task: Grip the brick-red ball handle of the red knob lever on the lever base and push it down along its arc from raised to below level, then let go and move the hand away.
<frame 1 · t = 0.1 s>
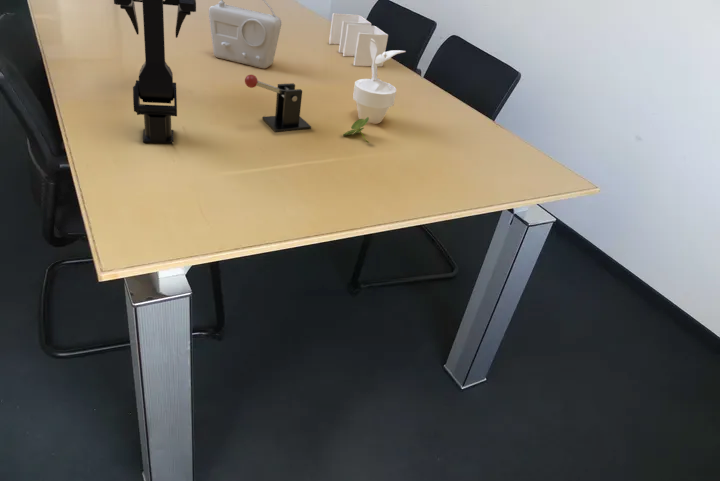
hand: (157, 35, 142), 15 cm above the table, tool pointing down, fingers open, 9 cm apart
seedling: (356, 140, 145), on the table
red knob lever: (270, 87, 137), point 10 cm above the table, hinge at 20.0°
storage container: (354, 55, 208), on the table
potted plant: (371, 120, 158), on the table
lever base: (286, 125, 145), on the table
radio: (242, 62, 181), on the table
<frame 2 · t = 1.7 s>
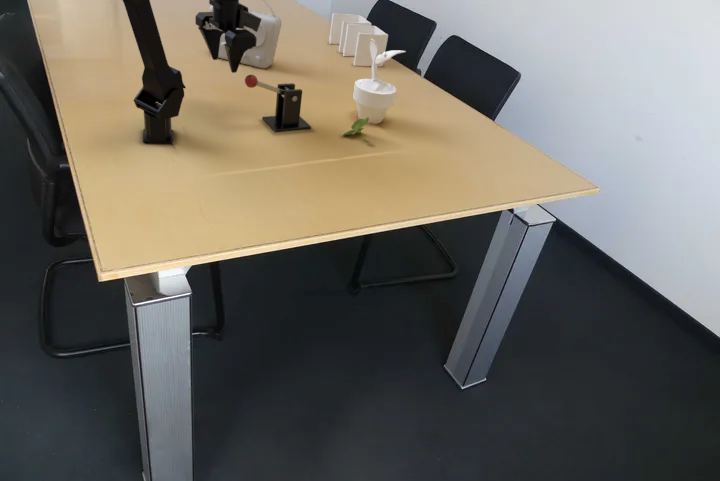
hand: (224, 65, 135), 13 cm above the table, tool pointing down, fingers open, 9 cm apart
nothing on the table moved.
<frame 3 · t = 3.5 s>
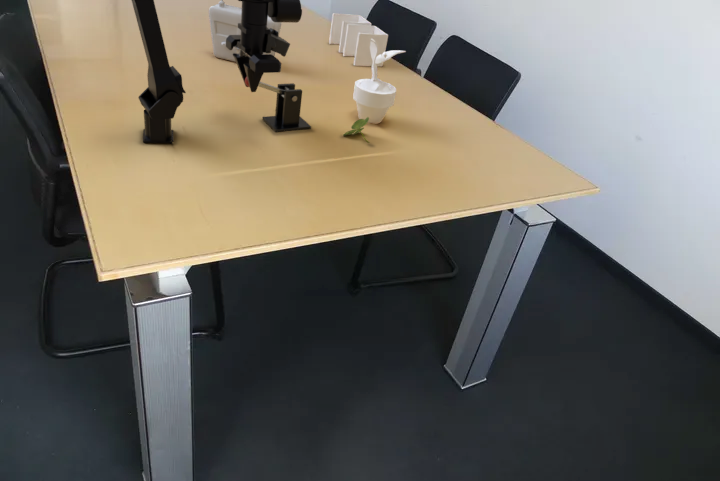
hand: (250, 89, 134), 10 cm above the table, tool pointing down, fingers closed on red knob lever, 3 cm apart
red knob lever: (270, 87, 137), point 10 cm above the table, hinge at 20.0°, touching gripper
everything else where it was.
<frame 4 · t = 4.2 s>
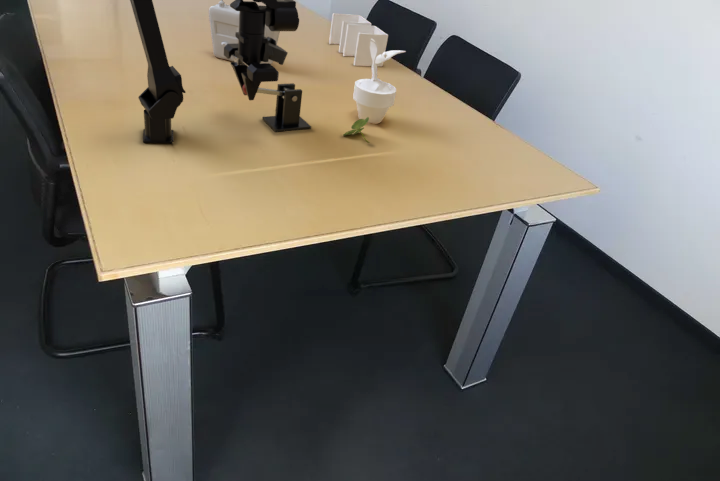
hand: (248, 97, 135), 8 cm above the table, tool pointing down, fingers closed on red knob lever, 3 cm apart
red knob lever: (269, 91, 137), point 9 cm above the table, hinge at 9.9°, touching gripper
everything else where it was.
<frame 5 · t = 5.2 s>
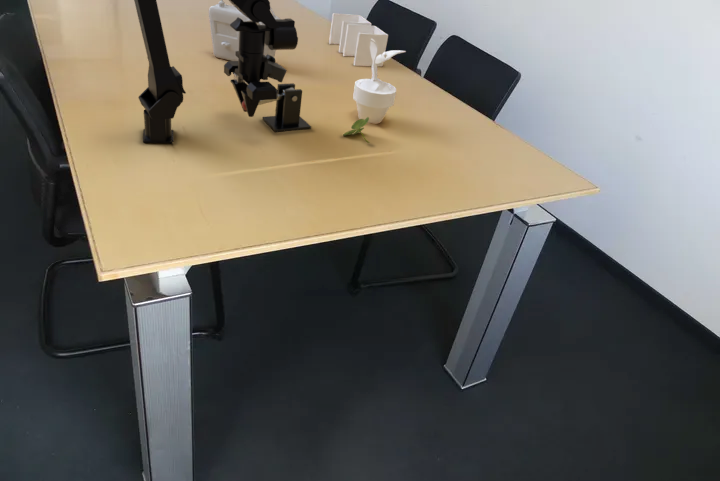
hand: (248, 114, 137), 4 cm above the table, tool pointing down, fingers closed on red knob lever, 3 cm apart
red knob lever: (268, 99, 138), point 7 cm above the table, hinge at -10.9°, touching gripper
everything else where it was.
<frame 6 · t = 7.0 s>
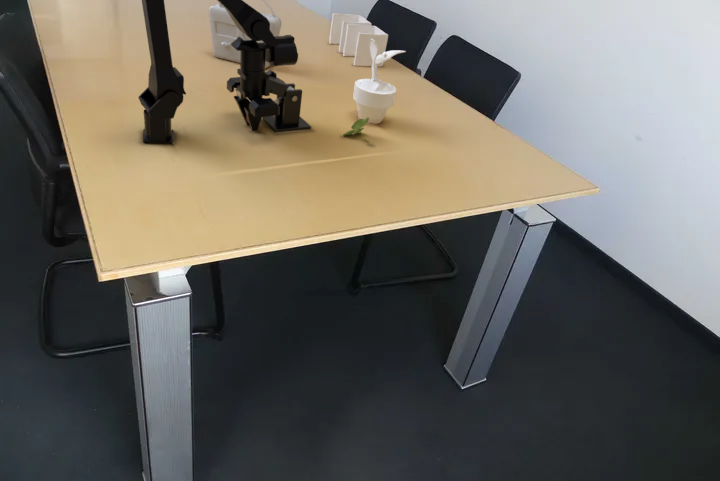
hand: (252, 129, 140), 0 cm above the table, tool pointing down, fingers open, 3 cm apart
red knob lever: (270, 106, 139), point 6 cm above the table, hinge at -30.6°
everything else where it was.
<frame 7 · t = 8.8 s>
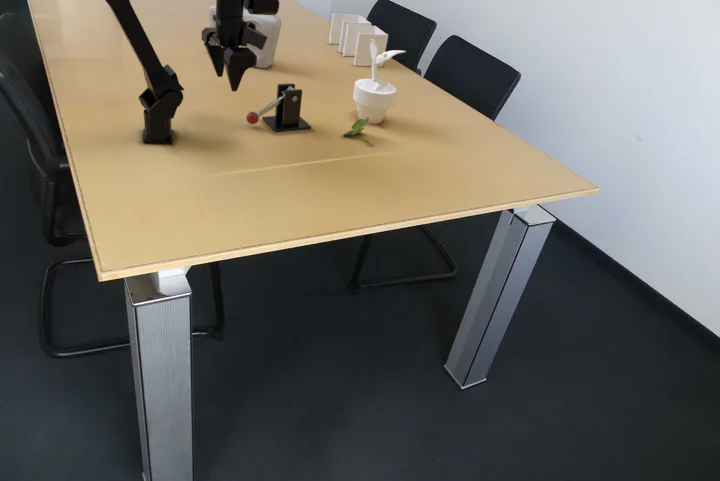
hand: (226, 83, 130), 12 cm above the table, tool pointing down, fingers open, 9 cm apart
nothing on the table moved.
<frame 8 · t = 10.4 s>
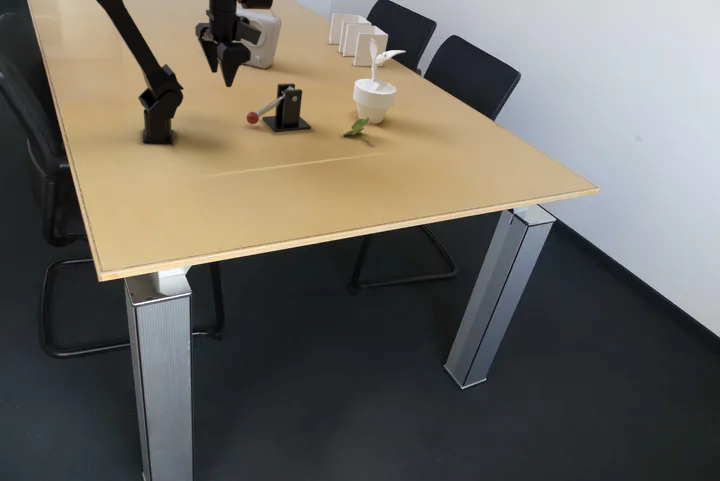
hand: (221, 79, 129), 13 cm above the table, tool pointing down, fingers open, 9 cm apart
nothing on the table moved.
at the end: red knob lever at -31° (first picture: +20°); the gripper is holding nothing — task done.
